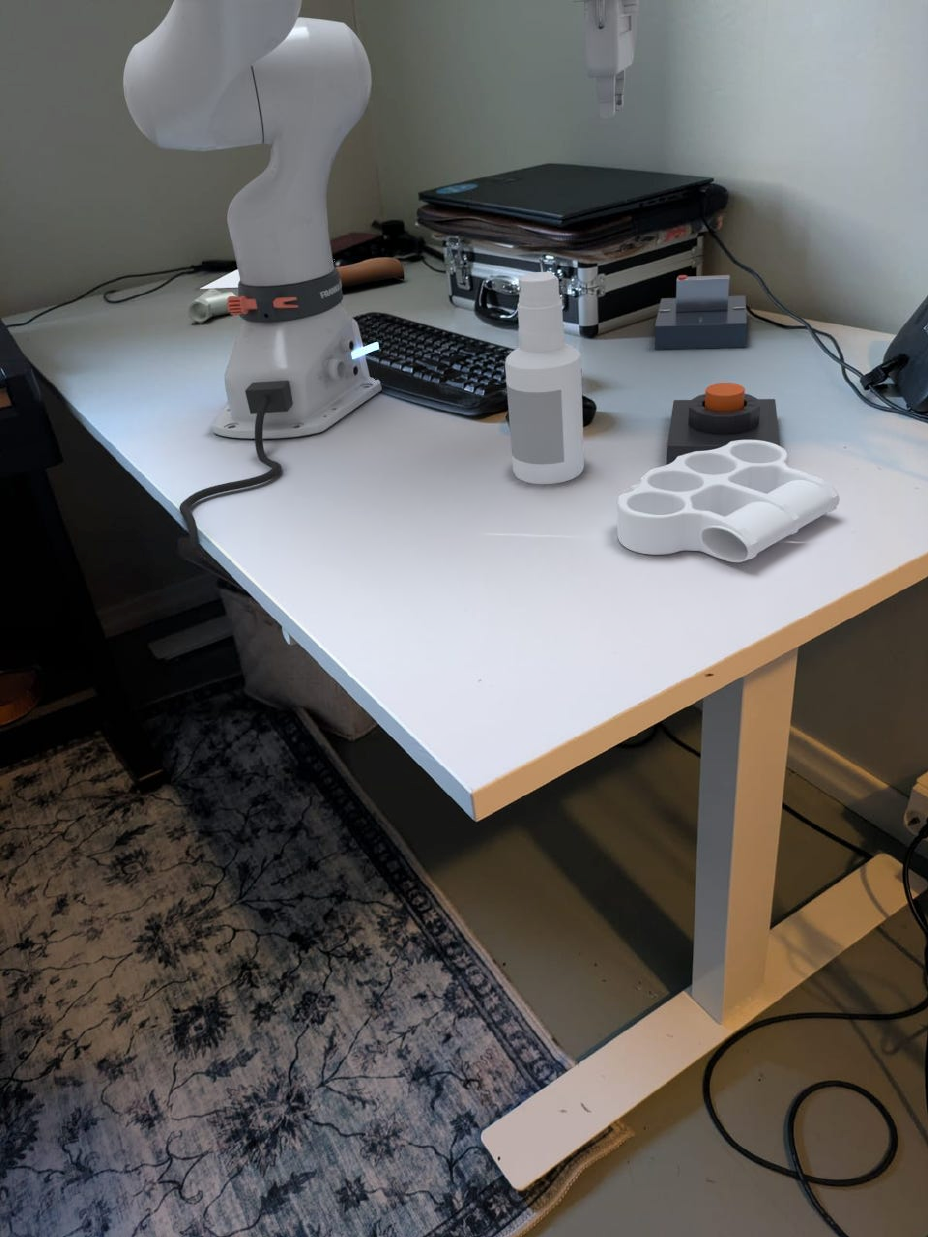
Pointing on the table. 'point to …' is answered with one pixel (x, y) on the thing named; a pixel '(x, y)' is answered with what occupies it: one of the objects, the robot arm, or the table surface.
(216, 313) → the pipe fitting
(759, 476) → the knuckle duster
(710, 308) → the upright grey plate
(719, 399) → the release button
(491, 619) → the table surface
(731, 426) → the release housing
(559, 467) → the spray bottle
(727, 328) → the grey flat block
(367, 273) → the sunglasses case
